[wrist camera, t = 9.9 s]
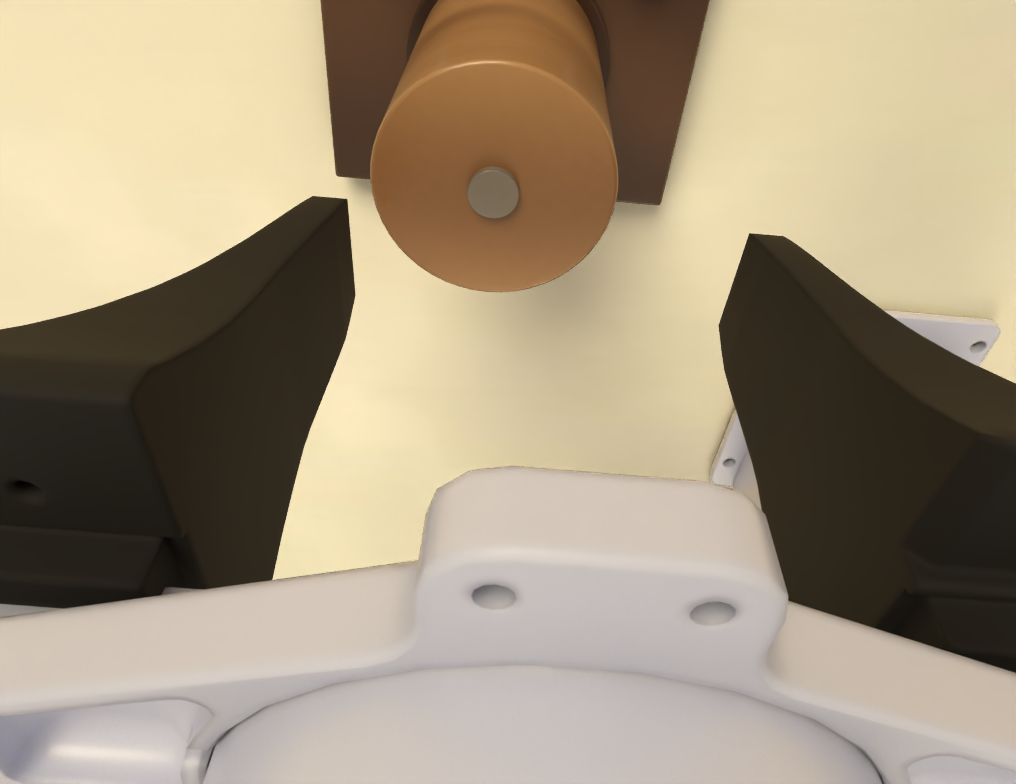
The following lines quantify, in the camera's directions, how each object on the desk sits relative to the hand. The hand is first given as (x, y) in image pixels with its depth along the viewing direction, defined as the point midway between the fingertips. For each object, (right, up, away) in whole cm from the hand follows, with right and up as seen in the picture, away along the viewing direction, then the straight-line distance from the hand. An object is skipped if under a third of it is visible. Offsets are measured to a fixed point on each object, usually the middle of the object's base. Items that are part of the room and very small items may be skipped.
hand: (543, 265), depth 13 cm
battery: (-1, +7, +6) cm, 9 cm away
